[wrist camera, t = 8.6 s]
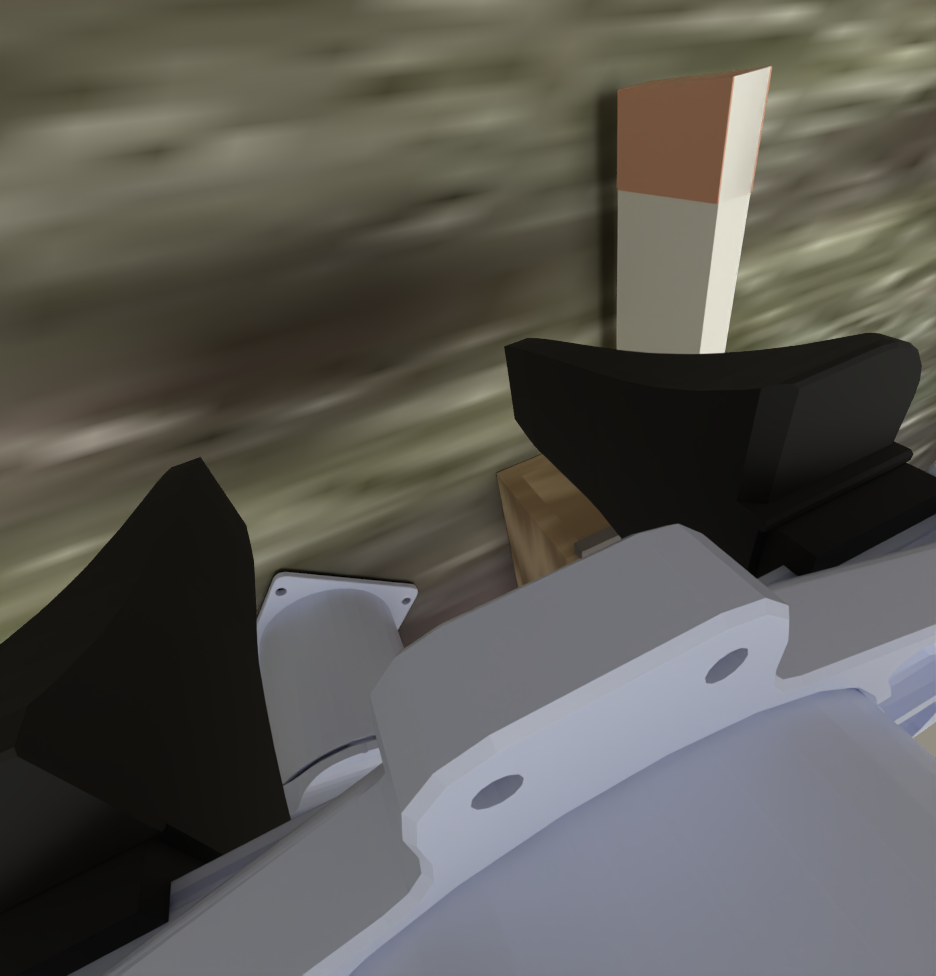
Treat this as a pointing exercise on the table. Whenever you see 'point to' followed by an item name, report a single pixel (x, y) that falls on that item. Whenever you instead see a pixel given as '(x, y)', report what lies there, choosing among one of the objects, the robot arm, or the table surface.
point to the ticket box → (548, 519)
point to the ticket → (684, 206)
